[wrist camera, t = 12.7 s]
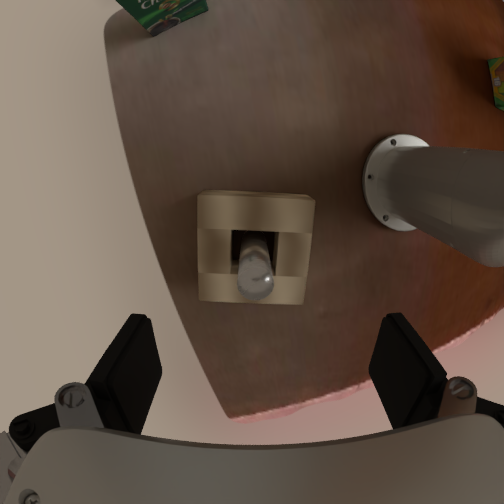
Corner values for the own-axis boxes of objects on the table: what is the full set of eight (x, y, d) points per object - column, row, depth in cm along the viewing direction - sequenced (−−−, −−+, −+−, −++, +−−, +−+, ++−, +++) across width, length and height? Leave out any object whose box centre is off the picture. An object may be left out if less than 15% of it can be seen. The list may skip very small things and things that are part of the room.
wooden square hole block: (306, 194, 32) (315, 200, 28) (297, 287, 36) (303, 304, 32) (204, 189, 32) (197, 194, 28) (204, 283, 36) (198, 300, 32)
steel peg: (266, 229, 34) (275, 268, 22) (265, 253, 35) (272, 301, 23) (241, 228, 34) (237, 266, 22) (240, 252, 35) (236, 299, 23)
